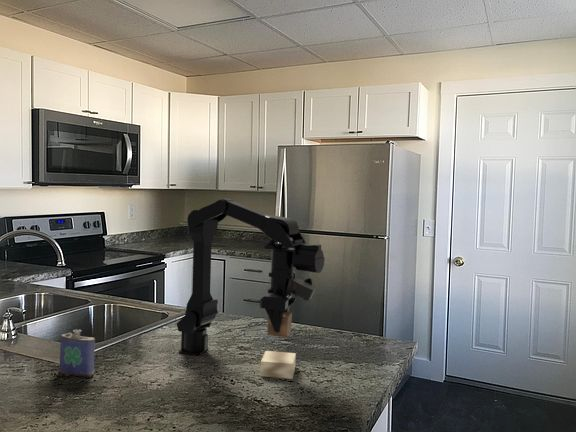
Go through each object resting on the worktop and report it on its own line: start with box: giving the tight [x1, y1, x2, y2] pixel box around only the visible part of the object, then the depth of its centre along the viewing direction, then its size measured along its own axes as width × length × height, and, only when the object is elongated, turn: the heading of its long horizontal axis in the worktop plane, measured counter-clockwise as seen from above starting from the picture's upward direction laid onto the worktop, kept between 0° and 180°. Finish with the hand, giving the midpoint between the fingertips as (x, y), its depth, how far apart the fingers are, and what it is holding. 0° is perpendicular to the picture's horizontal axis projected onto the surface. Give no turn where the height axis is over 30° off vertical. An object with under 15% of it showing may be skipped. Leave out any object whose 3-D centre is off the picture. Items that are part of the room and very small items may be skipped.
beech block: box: [259, 350, 297, 380], centre depth 125 cm, size 8×8×4 cm
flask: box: [58, 329, 96, 378], centre depth 117 cm, size 9×3×11 cm, turn 74°
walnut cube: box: [267, 311, 293, 338], centre depth 124 cm, size 5×5×5 cm
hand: (279, 329), depth 124 cm, fingers closed on walnut cube, 5 cm apart
